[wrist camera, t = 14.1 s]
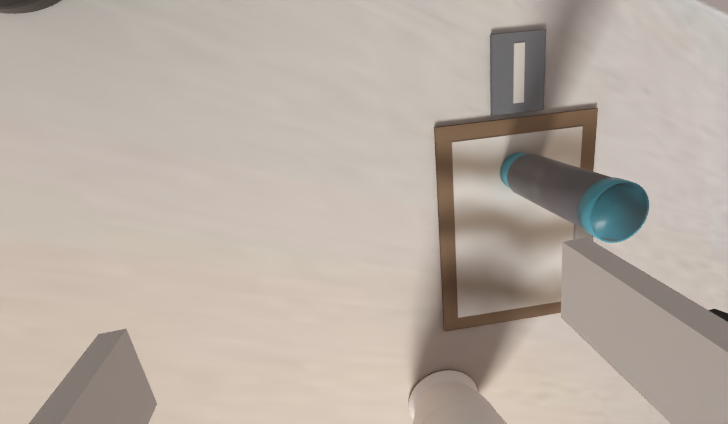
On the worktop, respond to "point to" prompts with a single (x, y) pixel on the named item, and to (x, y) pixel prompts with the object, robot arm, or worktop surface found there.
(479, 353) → the worktop surface
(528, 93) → the grey slotted plate
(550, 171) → the grey and teal cylinder
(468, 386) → the jar
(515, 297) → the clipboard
